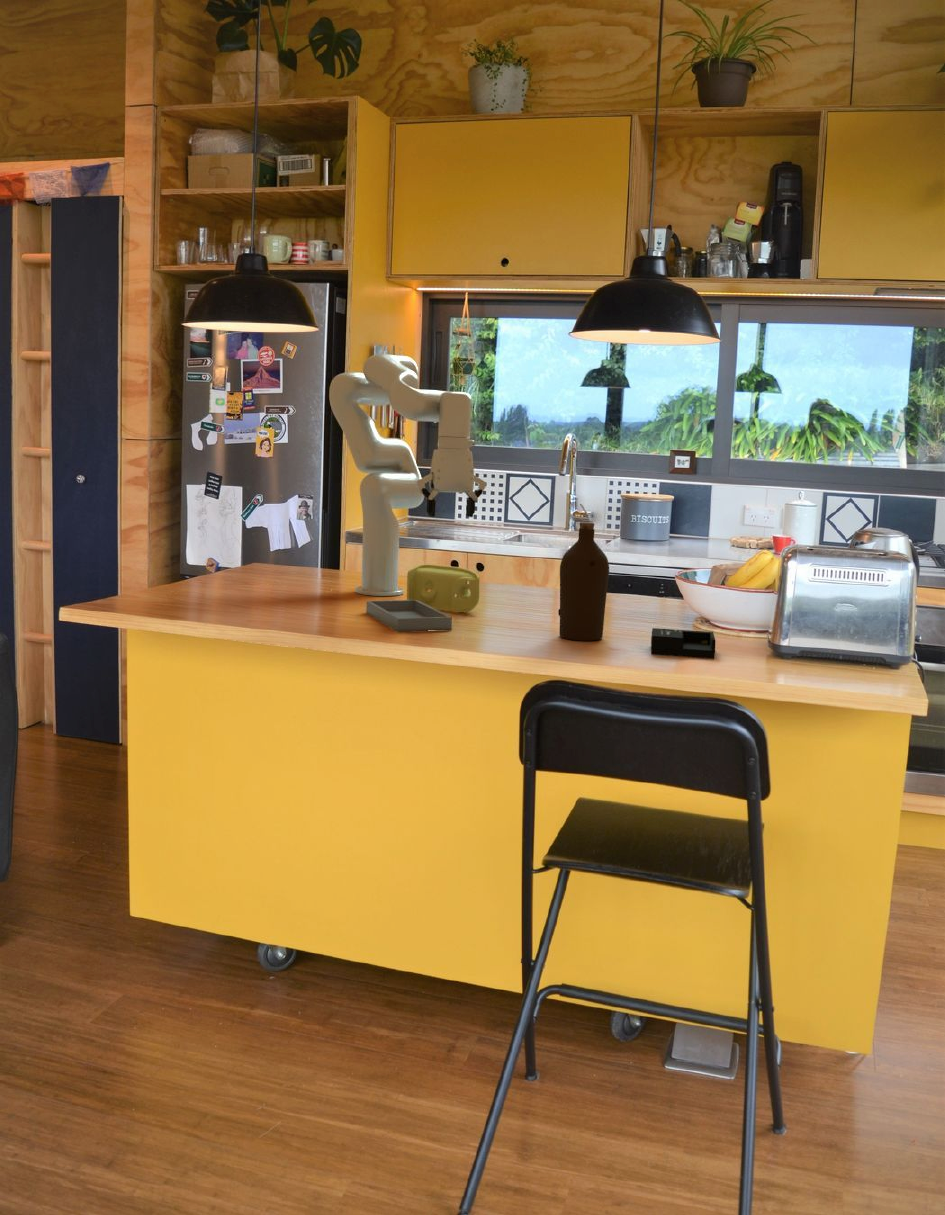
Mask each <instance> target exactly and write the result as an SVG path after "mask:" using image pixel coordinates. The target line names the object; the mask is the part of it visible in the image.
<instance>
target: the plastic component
mask: <svg viewBox="0 0 945 1215" xmlns="http://www.w3.org/2000/svg"><path fill="white" fill-rule="evenodd" d="M407 571H408V572H407V576H406V579H407V580H406V581H407V582H406V600H418V601H420V602H422V603H424V604H426V605H428V606H430V607H432V608H434V609H436V610H438V611H441V610H444V611H443V612H449V611H452V612H451V613H457V612H464V613H468V612H470V611H472V610H474V609H475V608H476V607H477V605H478V603H479V600H480V575H479V573H477V572H476V571H474V570H471V569H469V568H465V567H464V568H463V567H460V566H459V567H458V566H449V565H440V564H429V563H428V564H420V565H417V566H415V567H412V568H410V569H409V570H407ZM429 590H430V591H429ZM469 591H470V592H469Z"/></svg>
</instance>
